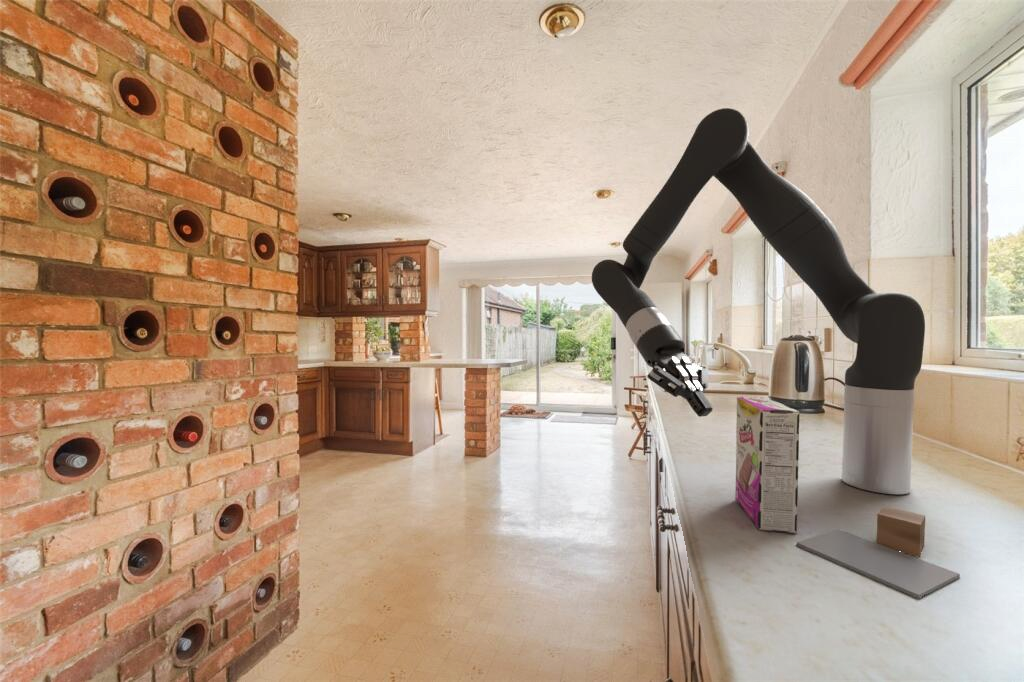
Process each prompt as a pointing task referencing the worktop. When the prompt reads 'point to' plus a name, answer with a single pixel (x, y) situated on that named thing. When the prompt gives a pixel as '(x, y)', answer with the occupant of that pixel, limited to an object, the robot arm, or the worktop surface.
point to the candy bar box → (767, 463)
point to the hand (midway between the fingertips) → (706, 413)
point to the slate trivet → (879, 562)
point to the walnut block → (901, 530)
